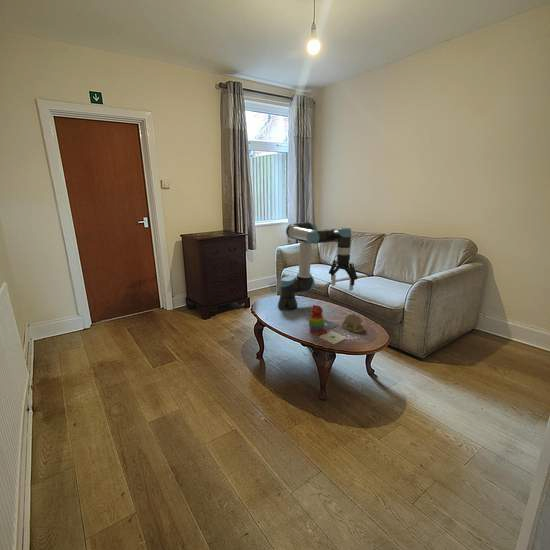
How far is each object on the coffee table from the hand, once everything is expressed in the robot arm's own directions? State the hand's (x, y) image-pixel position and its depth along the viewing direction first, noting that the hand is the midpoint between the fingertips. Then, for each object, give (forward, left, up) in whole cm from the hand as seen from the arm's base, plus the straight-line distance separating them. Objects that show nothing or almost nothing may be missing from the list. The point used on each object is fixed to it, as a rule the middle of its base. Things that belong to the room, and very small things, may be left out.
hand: (342, 287), depth 193 cm
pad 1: (-12, +1, -30) cm, 32 cm away
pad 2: (+3, -10, -30) cm, 31 cm away
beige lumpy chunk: (+2, +11, -30) cm, 32 cm away
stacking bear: (-9, -11, -30) cm, 33 cm away
